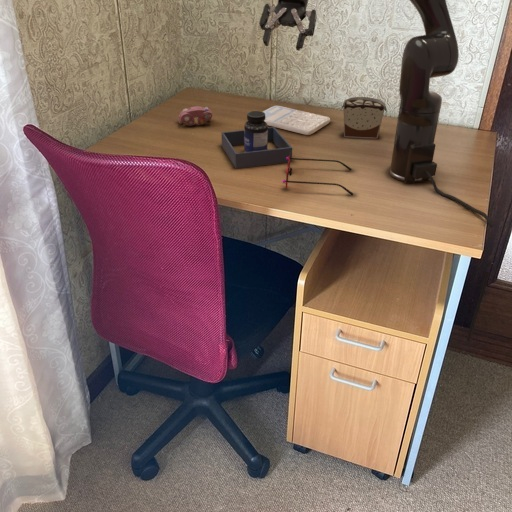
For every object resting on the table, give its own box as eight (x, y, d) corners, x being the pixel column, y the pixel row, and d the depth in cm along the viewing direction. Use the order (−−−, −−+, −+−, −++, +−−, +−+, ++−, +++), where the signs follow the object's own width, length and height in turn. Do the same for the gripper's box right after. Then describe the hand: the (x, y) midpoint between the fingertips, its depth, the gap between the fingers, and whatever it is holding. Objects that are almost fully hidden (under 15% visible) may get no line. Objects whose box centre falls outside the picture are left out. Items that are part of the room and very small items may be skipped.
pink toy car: (180, 131, 169) (180, 114, 163) (177, 120, 171) (177, 103, 165) (212, 128, 171) (214, 111, 165) (209, 117, 173) (211, 100, 167)
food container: (380, 130, 167) (385, 97, 161) (382, 138, 161) (387, 104, 156) (338, 129, 167) (341, 95, 162) (338, 136, 162) (342, 102, 157)
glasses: (286, 166, 145) (286, 148, 143) (351, 170, 144) (353, 151, 141) (282, 191, 134) (282, 172, 131) (352, 195, 132) (355, 176, 130)
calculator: (309, 136, 163) (310, 130, 161) (251, 122, 172) (251, 115, 171) (331, 122, 172) (331, 116, 171) (275, 109, 181) (275, 103, 180)
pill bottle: (241, 150, 154) (241, 110, 148) (263, 148, 155) (263, 108, 149) (248, 159, 149) (248, 119, 143) (270, 157, 150) (271, 116, 144)
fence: (291, 162, 148) (292, 147, 146) (235, 168, 144) (235, 154, 142) (273, 140, 160) (274, 126, 158) (221, 146, 156) (221, 132, 154)
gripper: (267, -24, 146) (252, 36, 145) (321, -18, 143) (306, 43, 142) (272, -7, 154) (258, 50, 153) (324, -1, 150) (310, 57, 149)
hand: (281, 46), depth 147 cm, fingers open, 8 cm apart
